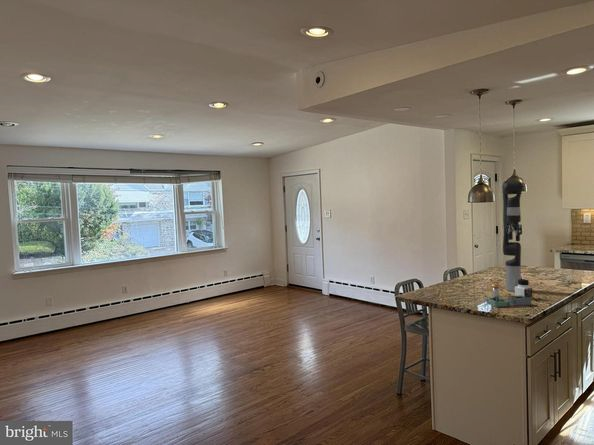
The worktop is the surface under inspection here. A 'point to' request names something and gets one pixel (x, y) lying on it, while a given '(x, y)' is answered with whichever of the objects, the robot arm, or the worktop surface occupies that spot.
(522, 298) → the block
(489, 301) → the tray
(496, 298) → the brass-capped metal pin
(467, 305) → the worktop surface
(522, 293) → the medicine bottle
